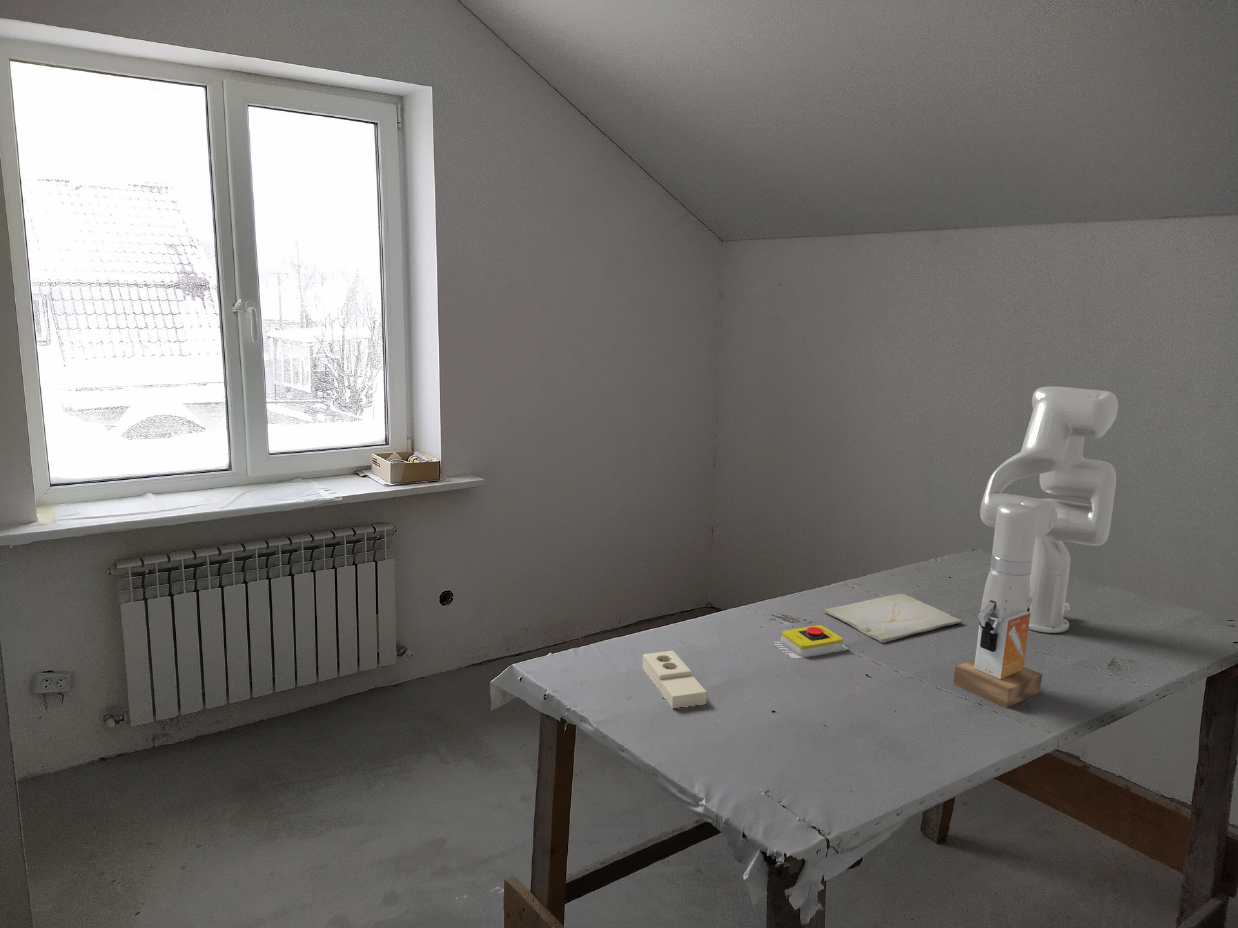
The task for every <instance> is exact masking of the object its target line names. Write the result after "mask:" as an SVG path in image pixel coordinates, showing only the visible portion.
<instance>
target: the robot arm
mask: <svg viewBox="0 0 1238 928" xmlns="http://www.w3.org/2000/svg"><path fill="white" fill-rule="evenodd" d="M1031 405H1032V412H1031V415H1030V416H1031V417H1030V420H1029V422H1028V426H1027V429H1026V433H1025V437H1024V439H1023V443H1022V446H1021V450H1020V452H1018V453H1016V454H1014V455H1013V456H1011V457H1010V458H1007V459H1006V460H1005V461H1004V462H1003V463H1002V464H1000V465H999V466H998V467H997V468H996V469H995V470H994V471H993V472H992V474H991V476H990V477H989V478H988V481H987V483H986V487H985V489H984V493H983V497H982V499H981V503H980V507H979V508H980V510H979V515H980V519H981V521H982V523H983V524H984V525H985V526H988V527H990V528H994V534H993V543H992V553H991V561H990V571H989V572H988V575H987V578H986V582H985V585H984V590H983V595H982V600H981V606H980V612H979V613H978V615H977V616H978V623H979V624H980V626H981V630H982V633H981V642H980V647H981V648H984V649H986V650H989V651H991V652H995V651H996V645H997V637H998V633H996V631H997V629H998V627H999V625H1000V623H1003V622H1004V619H1005V618H1009V617H1011V616H1014V615H1017V614H1020V613H1022V612H1025V611H1027V612H1030V613H1031V614H1030V622H1029V629H1028V630H1030V631H1034V632H1040V633H1046V634H1050V633H1051V634H1060V633H1065V632H1066V631H1068V630H1069V628H1070V623H1069V620H1067V619H1066V618H1065V617H1064V614H1065V612H1067V611H1069V610H1070V609H1071V605H1070V604H1069V603H1068V602H1066V598H1067V590H1068V584H1069V576H1070V569H1071V554H1070V553H1069V550H1068V548H1067V546H1066V545H1065V544H1064V542H1069V543H1075V544H1080V545H1087V546H1093V547H1098V546H1102V545H1103V544H1105V543H1106V542H1107V541H1108V538H1109V535H1110V531H1111V524H1112V518H1113V517H1112V516H1113V509H1114V501H1115V494H1116V488H1117V487H1116V486H1117V473H1116V469H1115V467H1114V465H1112V464H1111V463H1110V462H1108V461H1104V460H1099V459H1092V458H1091V459H1090V458H1085V457H1084V455H1083V453H1084V445H1085V438H1086V439H1099V438H1100V439H1101V438H1102V437H1103V436H1104V435H1105V434H1106V433H1107V432H1108V430H1109V429H1111V427H1112V426H1113V424H1114V422H1115V420H1116V419H1117V415H1118V411H1119V402H1118V398H1117V396H1116V395H1115V393H1113V392H1111V391H1108V390H1101V389H1100V390H1099V389H1088V388H1080V387H1078V388H1077V387H1067V386H1051V385H1050V386H1049V385H1048V386H1041V387H1038V388H1036V389H1035V390H1034V392H1033V394H1032V398H1031ZM1038 475H1039V485H1040V486H1039V487H1040V489H1041V490H1042V491H1043V492H1045V493H1047V494H1050V495H1055V496H1061V497H1066V498H1067V497H1068V498H1075V499H1079V500H1085V501H1088V502H1089V504H1087V503H1081V502H1075V501H1071V500H1064V499H1056V498H1037V497H1031V496H1026V495H1019V494H1013V493H1012V494H1011V493H1005V492H1003V491H1004V490H1005V488H1007V487H1008V486H1009V485H1010V484H1012V483H1014V482H1016V481H1018V480H1021V479H1026V478H1029V477H1033V476H1038ZM991 613H993V614H996V615H997V617H998V618H995V617H992V616H990V614H991ZM990 620H991V621H993V622H995V623H994V625H993V627H992V625H991V623H990Z"/></svg>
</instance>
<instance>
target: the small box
mask: <svg viewBox="0 0 1238 928" xmlns="http://www.w3.org/2000/svg"><path fill="white" fill-rule="evenodd" d="M1030 614H1031V613H1030V612H1027V611H1025V612H1022V613H1020V614H1017V615H1014V616H1011V617H1009V618H1005V619H1004V622H1003V623H1000V625H999V627H998V629H997V631H996V633H998V637H997V645H996V651H995V652H991V651H989V650H986V649H984V648H981V647H980V642H981V633H982V630H981V626H980V624H979V626H978V633H977V634H978V635H977V642H976V643H977V644H976V649H975V658H974V659H975V665H974V668H975V669H977V670H979V671H981V672H984V673H986V674H988V675H991V676H993V677H996V678H998V679H1003V678H1005V677H1008V676H1010V675H1012V674H1015V673H1018V672H1021V671H1023V667H1024V663H1025V657H1026V649H1027V642H1028V641H1027V640H1028V635H1029V630H1030V629H1029V622H1030ZM990 616H992V617H995V618H998V617H997V615H996V614H993V613H991V614H990ZM990 623H991V625H992V627H993V625H994V623H995V622H993V621H991V620H990Z"/></svg>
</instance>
